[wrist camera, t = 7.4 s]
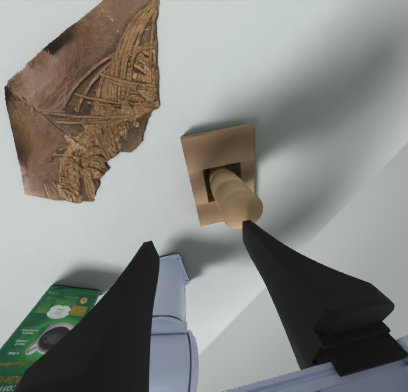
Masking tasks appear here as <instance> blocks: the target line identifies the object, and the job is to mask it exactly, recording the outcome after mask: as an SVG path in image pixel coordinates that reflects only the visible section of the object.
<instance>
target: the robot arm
mask: <svg viewBox="0 0 408 392" xmlns="http://www.w3.org/2000/svg"><path fill="white" fill-rule="evenodd" d="M242 230H243V242H244V244H245V247H246V249H247V251H248V253H249V255H250V257H251V259H252V260H253V262H254V264H255V266H256V268H257V269H258V271H259V273H260V275H261V277H262V279H263V280H264V282H265V284H266V287H267V289H268V291H269V293H270V296H271V298H272V300H273V302H274V305H275V307H276V309H277V312H278V314H279V317H280V319H281V321H282V324H283V326H284V329H285V331H286V334H287V336H288V339H289V341H290V344H291V346H292V349H293V352H294V354H295V357H296V359H297V362H298V365H299V367H300V369H301V370H300V371H296V372H292V373H289V374H285V375H281V376H278V377H274V378H270V379H267V380H263V381H259V382H256V383H252V384H248V385H245V386H241V387H238V388H234V389H230V390H227V391H223V392H408V336H404V337H402V338H399V339H397V340H395V339H393V337H392V336H391V335H390V334H389V332H390V329H389V328H388V327H387V326H386V325H385V324H384V323H383V322H382V321H383V320H384V319H385V318H386V317H387V316H388V315H389V314H390V313H391V312H392V311H393V310H394V304H393V302H392V301H391V300H390V299H388V298H387V297H386V296H385V295H384V294H383V293H381V292H380V291H379V290H378V289H377V288H376V287H375V286H373V285H372V284H371V283H368V282H365V281H363V280H360V279H358V278H355V277H352V276H349V275H347V274H344V273H341V272H339V271H337V270H334V269H331V268H329V267H327V266H324V265H323V264H320V263H317V262H316V261H314V260H312V259H310V258H308V257H306V256H304V255H302V254H300V253H298V252H296V251H295V250H293V249H291V248H289V247H288V246H286V245H284V244H283V243H281V242H280V241H278V240H277V239H275V238H274V237H272V236H271V235H269V234H268V233H267V232H265V231H264V230H263V229H261V228H260V227H259V226H257V225H256V224H255V223H253V222H252V221H251V220H246V221H242ZM189 284H190V281H189V278H188V276H187V273H186V270H185V268H184V265H183V262H182V260H181V257H180V255H179V254H174V255H169V256H165V257H161V258H160V257H159V255H158V253H157V251H156V249H155V247H154V244H153V242H152V241H149V242H144V243H143V245H142V246H141V247H140V249H139V250H138V252H137V253H136V255H135V256H134V258H133V259H132V261H131V262H130V263H129V265H128V266H127V268H126V269H125V270H124V272H123V273H122V274H121V276H120V277H119V278H118V280H117V281H116V282H115V283H114V285H113V286H112V287H111V288H110V289H109V291H108V292H107V293H106V294H105V295H104V296H103V297H102V299H101V300H100V301H99V302H98V303H97V304H96V305H95V306H94V307H93V308H92V309H91V310H90V311H89V312H88V313H87V314H86V315H85V317H84V318H83V319H82V320H81V321H80V322H79V323H77V324H76V325H75V326H74V327H73V328H72V329H71V330H70V331H69V332H68V333H67V334H66V335H65V336H64V337H63V338H62V339H61V340H59V341H58V342H57V343H56V344H55V345H54V346H53V347H52V348H51V349H49V350H48V351H47V352H46V353H45V354H44V355H43V356H41V357H40V358H39V359H38V360H37V361H36V362H34V363H33V364H32V365H31V366H30V367H29V368H27V369H26V371H25V372H24V374H23V375H22V377H21V379H20V380H19V382H18V383H17V385H16V387H15V388H14V390H13V392H196V389H197V384H198V371H199V370H198V369H199V365H198V362H199V361H198V349H197V343H196V339H195V337H194V336H193V333H192V332H191V331H190V330H187V322H185V320H186V296H185V285H189Z"/></svg>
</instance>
